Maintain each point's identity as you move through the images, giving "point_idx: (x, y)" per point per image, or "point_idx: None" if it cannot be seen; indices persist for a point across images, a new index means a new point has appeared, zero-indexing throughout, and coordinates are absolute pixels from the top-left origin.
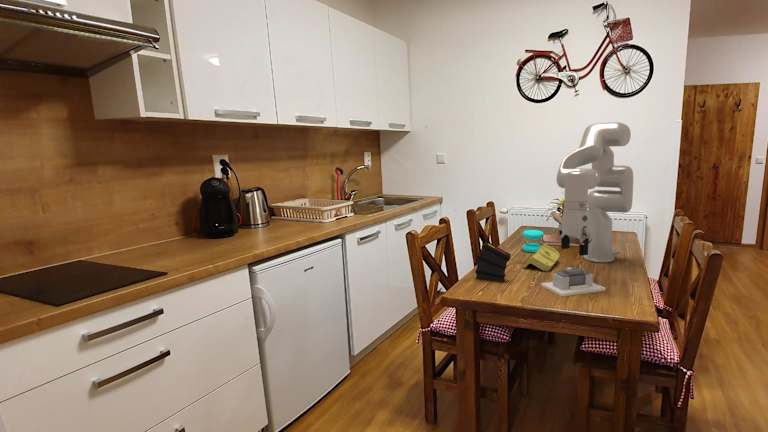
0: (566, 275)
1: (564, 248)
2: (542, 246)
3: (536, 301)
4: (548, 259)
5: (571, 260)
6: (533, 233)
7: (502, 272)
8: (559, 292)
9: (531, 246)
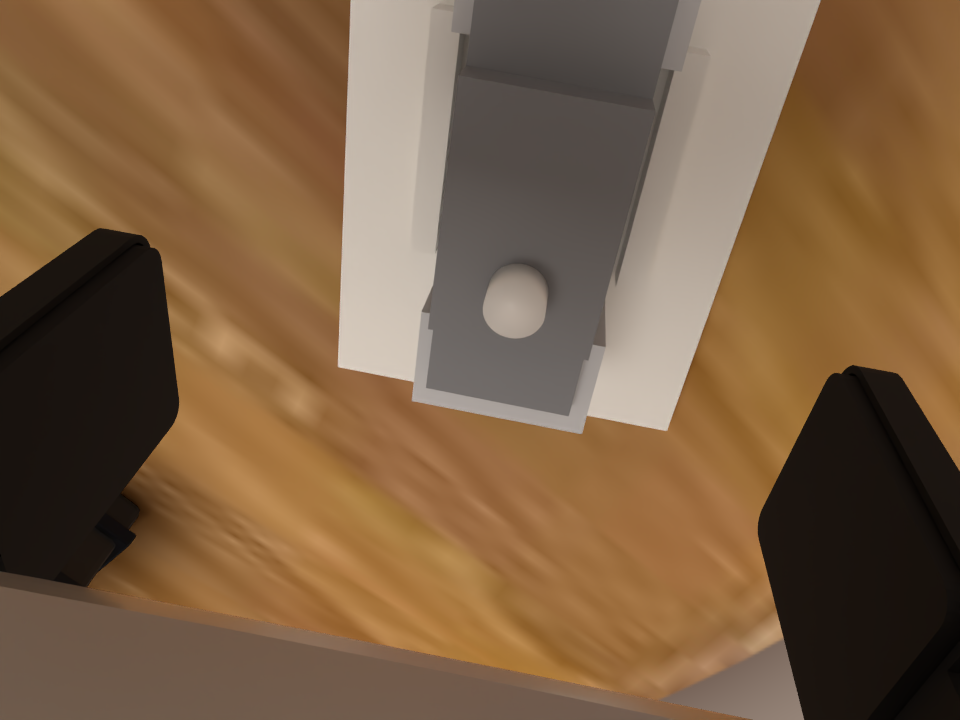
0: (577, 374)
1: (172, 381)
2: None
3: (625, 606)
4: None
5: None
6: None
7: (94, 574)
8: (630, 421)
9: None
